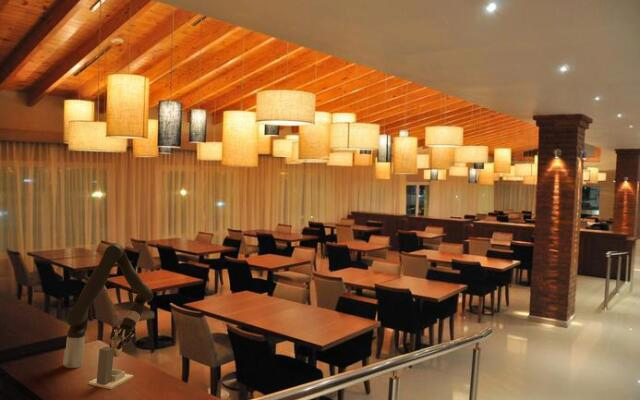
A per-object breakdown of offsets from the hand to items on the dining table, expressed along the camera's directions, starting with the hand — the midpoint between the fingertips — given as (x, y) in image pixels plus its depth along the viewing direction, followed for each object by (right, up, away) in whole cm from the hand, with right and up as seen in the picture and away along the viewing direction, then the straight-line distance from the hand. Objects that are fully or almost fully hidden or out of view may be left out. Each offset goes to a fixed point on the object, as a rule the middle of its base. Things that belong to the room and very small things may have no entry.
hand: (114, 348), depth 261 cm
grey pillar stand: (-2, -18, 0) cm, 18 cm away
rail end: (0, -5, +2) cm, 5 cm away
